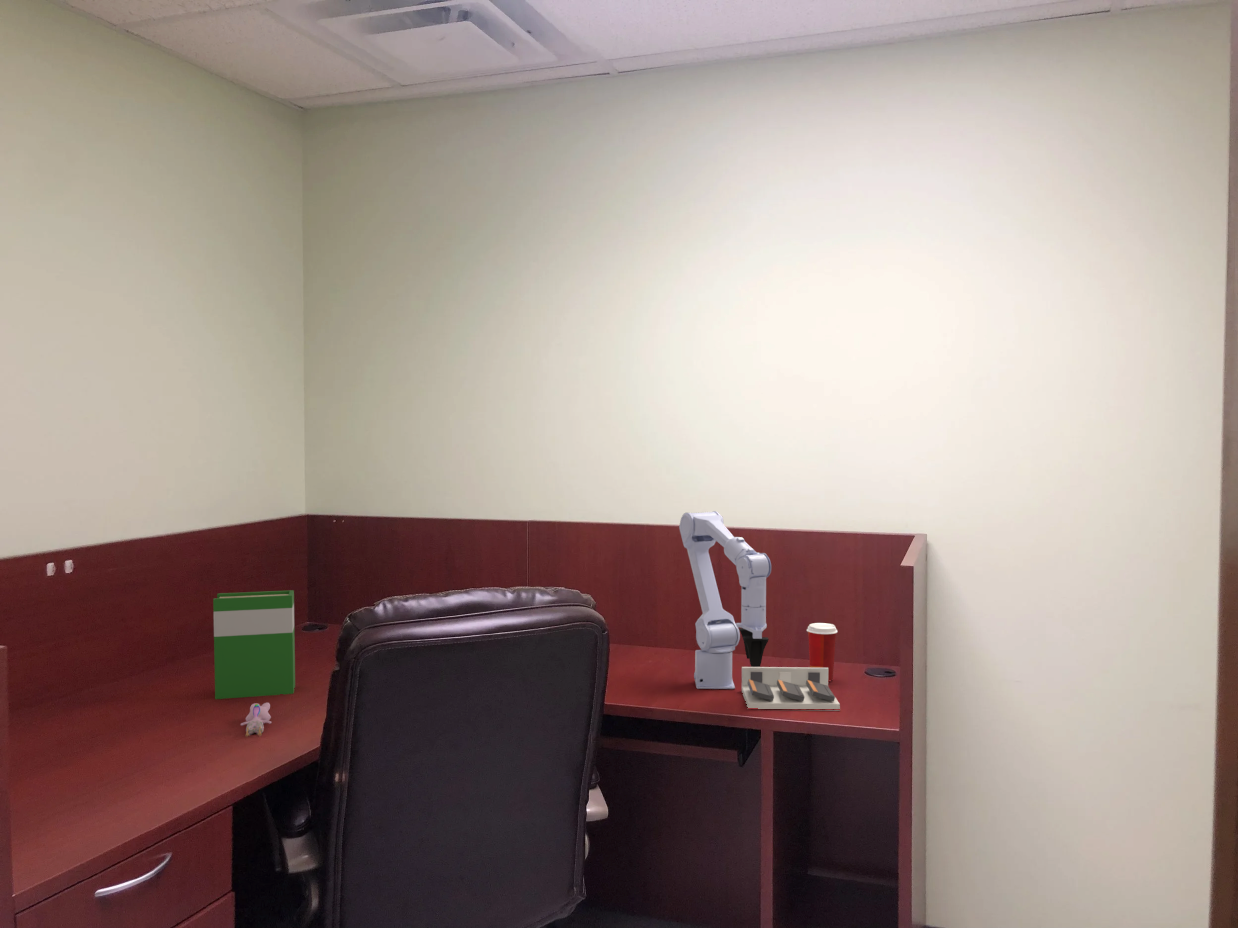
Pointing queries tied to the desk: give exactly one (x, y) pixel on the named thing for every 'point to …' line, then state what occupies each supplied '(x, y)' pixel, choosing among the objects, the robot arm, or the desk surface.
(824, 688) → the switch
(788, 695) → the switch
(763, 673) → the switch unit
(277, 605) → the hardback book
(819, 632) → the paper cup
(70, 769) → the desk surface
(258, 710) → the pink and white figure
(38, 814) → the desk surface
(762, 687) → the switch
